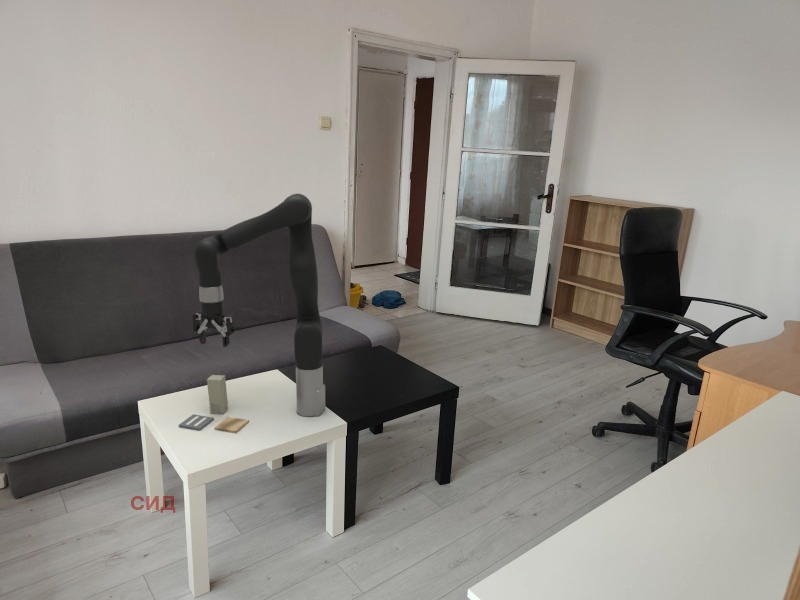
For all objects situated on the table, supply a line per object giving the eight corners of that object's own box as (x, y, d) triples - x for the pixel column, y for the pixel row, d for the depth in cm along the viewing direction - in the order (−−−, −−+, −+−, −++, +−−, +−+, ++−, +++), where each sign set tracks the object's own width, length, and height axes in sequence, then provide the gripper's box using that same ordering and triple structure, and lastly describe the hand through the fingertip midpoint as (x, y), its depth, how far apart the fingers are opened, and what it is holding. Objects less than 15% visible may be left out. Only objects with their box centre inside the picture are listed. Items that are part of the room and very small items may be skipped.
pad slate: (214, 419, 189) (213, 417, 189) (200, 430, 182) (199, 428, 182) (193, 416, 191) (193, 413, 191) (178, 427, 184) (178, 424, 183)
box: (228, 408, 197) (226, 375, 194) (223, 414, 193) (221, 380, 190) (214, 407, 198) (211, 374, 194) (208, 413, 193) (206, 379, 190)
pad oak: (249, 422, 188) (248, 420, 188) (236, 433, 181) (236, 431, 180) (227, 418, 190) (227, 416, 190) (214, 429, 183) (214, 427, 182)
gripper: (236, 297, 186) (239, 343, 191) (199, 293, 190) (202, 339, 194) (224, 303, 179) (227, 351, 184) (185, 299, 183) (189, 346, 187)
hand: (214, 344), depth 189 cm, fingers open, 8 cm apart
